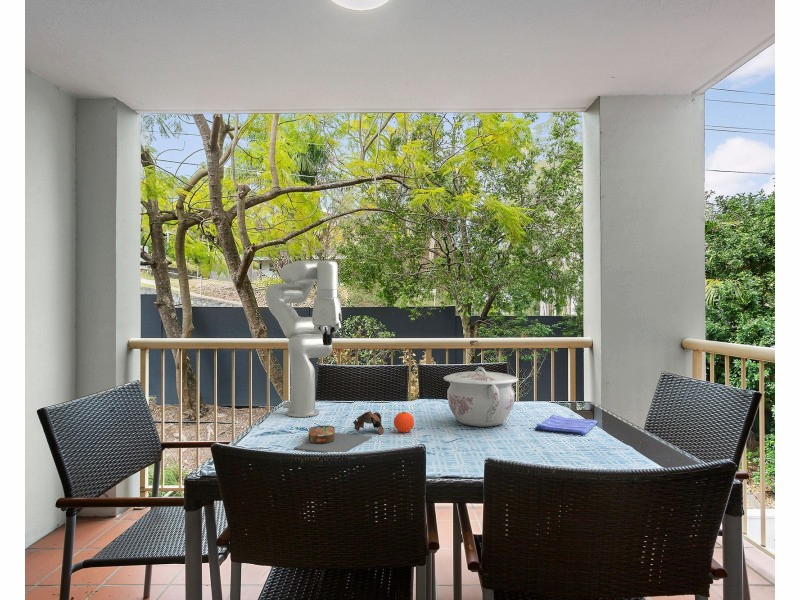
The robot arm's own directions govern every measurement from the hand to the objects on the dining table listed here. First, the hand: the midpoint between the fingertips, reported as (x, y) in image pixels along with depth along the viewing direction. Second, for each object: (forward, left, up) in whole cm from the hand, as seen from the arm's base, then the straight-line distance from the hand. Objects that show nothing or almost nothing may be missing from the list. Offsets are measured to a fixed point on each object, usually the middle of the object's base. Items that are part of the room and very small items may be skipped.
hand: (327, 345), depth 212 cm
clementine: (+30, 0, -29) cm, 42 cm away
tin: (+6, -23, -28) cm, 36 cm away
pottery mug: (+20, -4, -29) cm, 35 cm away
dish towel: (+81, +29, -30) cm, 91 cm away
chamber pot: (+51, +23, -29) cm, 63 cm away
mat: (+16, -23, -29) cm, 40 cm away
